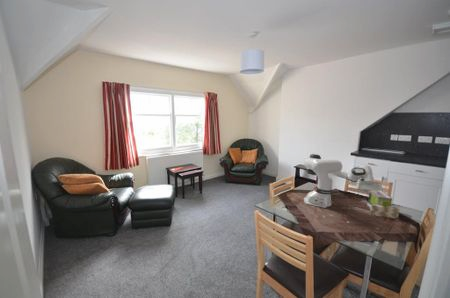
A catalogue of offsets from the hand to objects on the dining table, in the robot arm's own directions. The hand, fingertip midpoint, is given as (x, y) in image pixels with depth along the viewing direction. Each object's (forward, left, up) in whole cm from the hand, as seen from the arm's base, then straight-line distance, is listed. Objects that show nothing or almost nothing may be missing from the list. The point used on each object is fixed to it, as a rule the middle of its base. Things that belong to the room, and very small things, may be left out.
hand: (370, 195), depth 183 cm
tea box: (0, -17, -6) cm, 18 cm away
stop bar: (0, -26, -5) cm, 27 cm away
